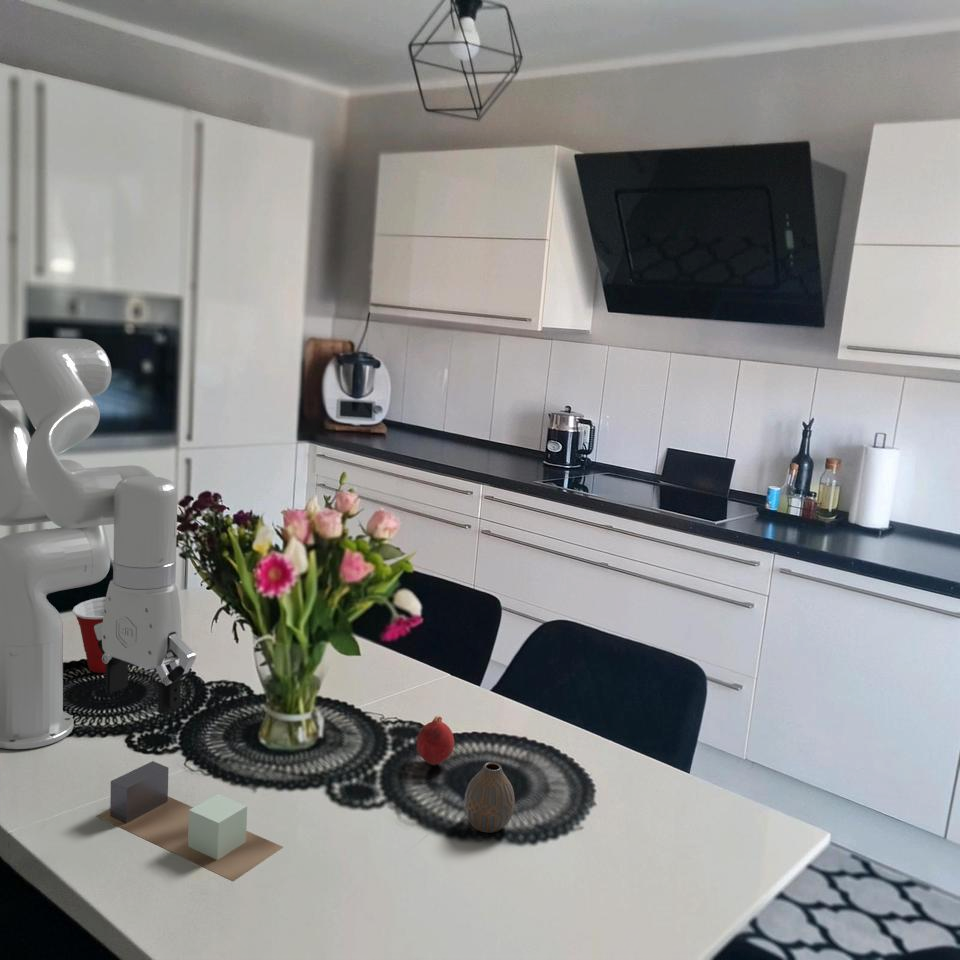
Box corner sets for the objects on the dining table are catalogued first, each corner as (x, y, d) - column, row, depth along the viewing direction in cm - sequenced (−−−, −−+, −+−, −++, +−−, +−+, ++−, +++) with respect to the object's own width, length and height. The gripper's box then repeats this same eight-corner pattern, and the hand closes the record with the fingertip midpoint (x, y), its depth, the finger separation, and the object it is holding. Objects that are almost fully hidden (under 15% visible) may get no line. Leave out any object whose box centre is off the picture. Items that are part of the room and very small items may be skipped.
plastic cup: (70, 658, 176) (71, 596, 174) (132, 654, 181) (133, 593, 179) (73, 681, 167) (73, 616, 165) (138, 676, 171) (139, 612, 169)
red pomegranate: (447, 776, 145) (451, 727, 143) (410, 770, 146) (414, 721, 144) (455, 759, 150) (459, 712, 149) (420, 753, 151) (424, 706, 150)
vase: (518, 819, 134) (524, 761, 133) (503, 843, 128) (509, 783, 126) (472, 807, 136) (477, 750, 135) (455, 830, 130) (460, 771, 128)
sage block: (187, 846, 120) (189, 809, 119) (216, 829, 125) (218, 793, 124) (217, 860, 118) (218, 823, 117) (245, 842, 122) (247, 806, 121)
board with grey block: (96, 819, 125) (96, 780, 124) (149, 791, 133) (150, 755, 132) (233, 884, 114) (234, 842, 113) (283, 850, 122) (285, 810, 121)
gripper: (74, 566, 123) (73, 691, 126) (171, 595, 115) (168, 728, 118) (121, 555, 129) (119, 674, 132) (216, 581, 121) (212, 708, 124)
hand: (142, 700), depth 125 cm, fingers open, 9 cm apart
